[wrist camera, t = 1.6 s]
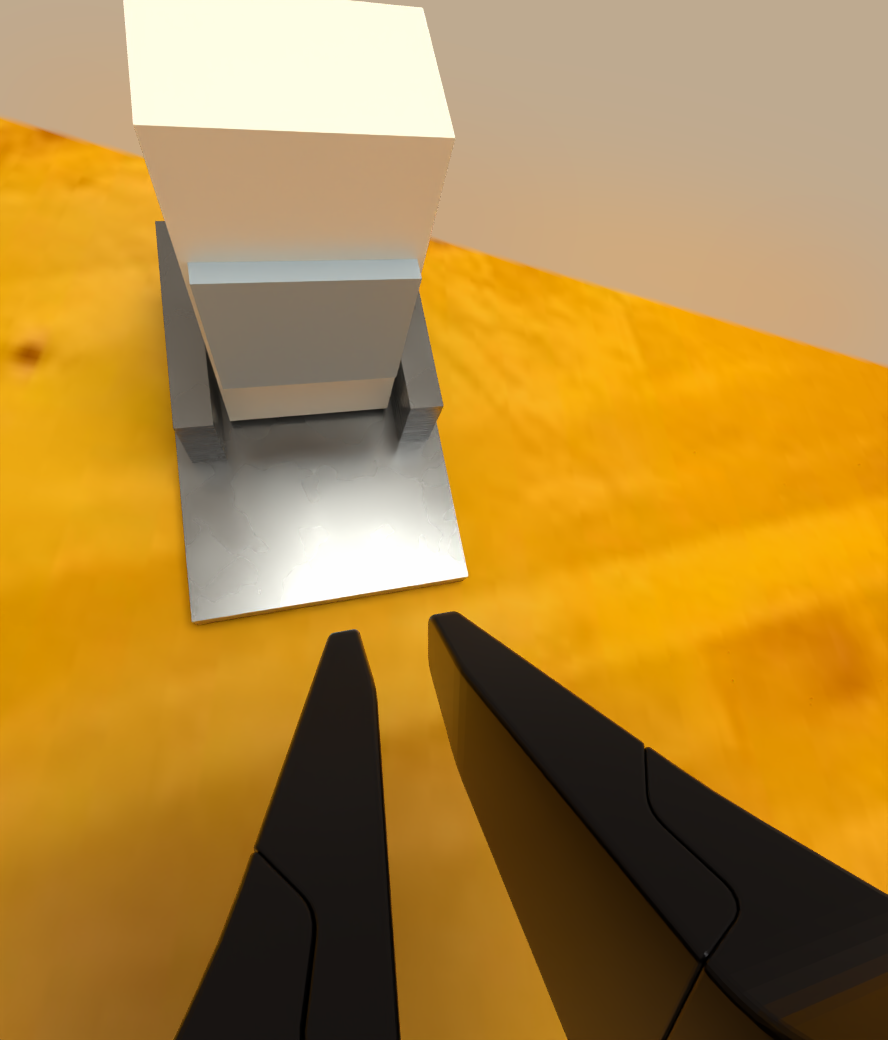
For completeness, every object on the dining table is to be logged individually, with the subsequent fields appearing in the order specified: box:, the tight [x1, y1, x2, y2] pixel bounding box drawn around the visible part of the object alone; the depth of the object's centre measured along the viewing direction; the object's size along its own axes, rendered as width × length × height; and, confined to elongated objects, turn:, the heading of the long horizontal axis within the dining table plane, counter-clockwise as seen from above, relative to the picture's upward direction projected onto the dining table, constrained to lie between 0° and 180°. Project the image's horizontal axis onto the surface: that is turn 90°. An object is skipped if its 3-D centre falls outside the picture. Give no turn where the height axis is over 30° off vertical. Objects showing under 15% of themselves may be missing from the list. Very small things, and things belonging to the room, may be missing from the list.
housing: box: [155, 221, 468, 625], centre depth 21 cm, size 14×10×4 cm
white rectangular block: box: [123, 0, 455, 421], centre depth 17 cm, size 4×6×12 cm
